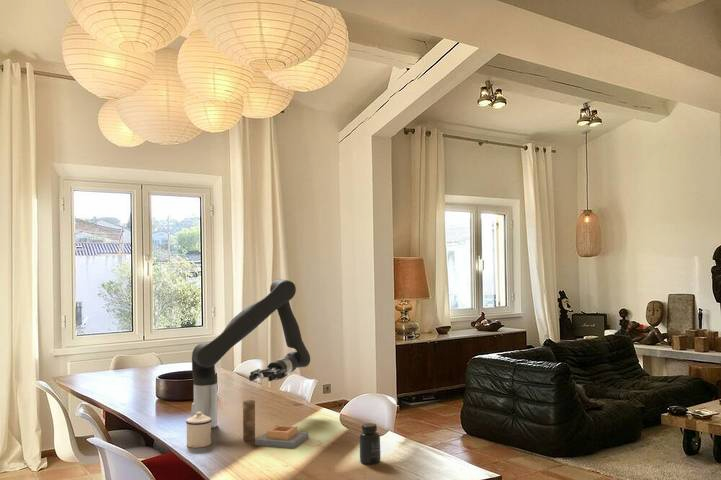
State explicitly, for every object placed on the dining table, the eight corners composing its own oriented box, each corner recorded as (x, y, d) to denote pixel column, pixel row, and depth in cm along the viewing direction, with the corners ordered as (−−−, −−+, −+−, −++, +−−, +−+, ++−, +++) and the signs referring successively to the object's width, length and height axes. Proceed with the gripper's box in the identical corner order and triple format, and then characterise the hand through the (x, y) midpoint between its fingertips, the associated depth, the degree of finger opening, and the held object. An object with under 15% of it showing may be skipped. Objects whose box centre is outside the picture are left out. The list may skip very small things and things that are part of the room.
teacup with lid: (216, 444, 224) (216, 411, 225) (194, 449, 218) (194, 416, 218) (198, 438, 233) (198, 406, 233) (177, 443, 226) (177, 411, 227)
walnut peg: (241, 440, 228) (240, 402, 229) (246, 437, 233) (246, 399, 233) (251, 441, 227) (251, 403, 228) (257, 438, 231) (257, 400, 232)
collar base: (255, 445, 223) (254, 432, 223) (272, 434, 236) (271, 422, 236) (293, 448, 218) (293, 435, 218) (308, 437, 231) (308, 425, 232)
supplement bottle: (379, 458, 206) (379, 421, 206) (381, 464, 199) (380, 427, 199) (359, 458, 205) (358, 422, 206) (360, 465, 199) (359, 427, 199)
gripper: (264, 359, 258) (243, 368, 243) (294, 359, 253) (274, 369, 238) (265, 377, 258) (244, 387, 243) (295, 377, 253) (276, 388, 238)
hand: (259, 378), depth 240 cm, fingers open, 8 cm apart
